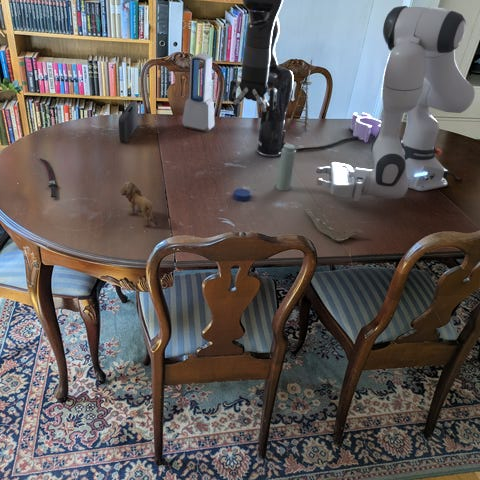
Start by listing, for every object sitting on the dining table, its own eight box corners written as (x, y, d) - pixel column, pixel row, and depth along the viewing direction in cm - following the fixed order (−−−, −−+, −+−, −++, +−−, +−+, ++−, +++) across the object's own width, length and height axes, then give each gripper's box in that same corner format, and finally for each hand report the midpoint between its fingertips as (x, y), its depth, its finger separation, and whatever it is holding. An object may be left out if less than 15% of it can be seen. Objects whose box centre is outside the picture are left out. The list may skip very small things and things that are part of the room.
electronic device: (214, 128, 204) (219, 56, 188) (208, 133, 198) (212, 59, 182) (188, 122, 207) (190, 51, 191) (181, 127, 201) (183, 54, 185)
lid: (240, 202, 149) (241, 197, 148) (230, 195, 152) (230, 191, 151) (253, 198, 152) (253, 193, 151) (242, 192, 156) (242, 187, 155)
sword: (61, 197, 141) (61, 193, 140) (50, 198, 139) (50, 194, 139) (49, 160, 164) (48, 156, 163) (39, 160, 163) (39, 157, 162)
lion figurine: (118, 210, 138) (116, 182, 133) (132, 204, 141) (131, 177, 137) (151, 229, 130) (150, 201, 126) (165, 223, 134) (165, 195, 129)
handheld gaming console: (132, 123, 199) (131, 100, 194) (138, 124, 200) (137, 100, 194) (118, 143, 180) (117, 117, 175) (125, 143, 180) (124, 118, 175)
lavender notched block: (343, 126, 223) (346, 112, 219) (367, 127, 225) (371, 113, 221) (360, 142, 206) (364, 127, 202) (386, 142, 209) (390, 127, 205)
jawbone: (347, 249, 132) (348, 244, 131) (288, 222, 142) (289, 217, 141) (362, 236, 138) (364, 230, 136) (304, 210, 148) (305, 205, 147)
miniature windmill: (306, 131, 212) (318, 62, 195) (287, 128, 213) (298, 59, 196) (307, 125, 219) (319, 58, 203) (289, 122, 220) (300, 55, 204)
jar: (276, 183, 163) (282, 142, 155) (289, 185, 163) (296, 144, 155) (276, 189, 159) (282, 147, 151) (289, 191, 159) (296, 149, 151)
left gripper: (227, 60, 129) (222, 117, 138) (274, 70, 124) (266, 128, 133) (239, 56, 135) (234, 111, 144) (284, 65, 130) (276, 122, 139)
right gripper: (357, 160, 164) (318, 155, 164) (362, 185, 146) (318, 179, 147) (353, 177, 167) (315, 171, 168) (357, 203, 150) (315, 197, 151)
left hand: (250, 119), depth 138 cm, fingers open, 8 cm apart
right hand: (316, 175), depth 157 cm, fingers open, 8 cm apart
